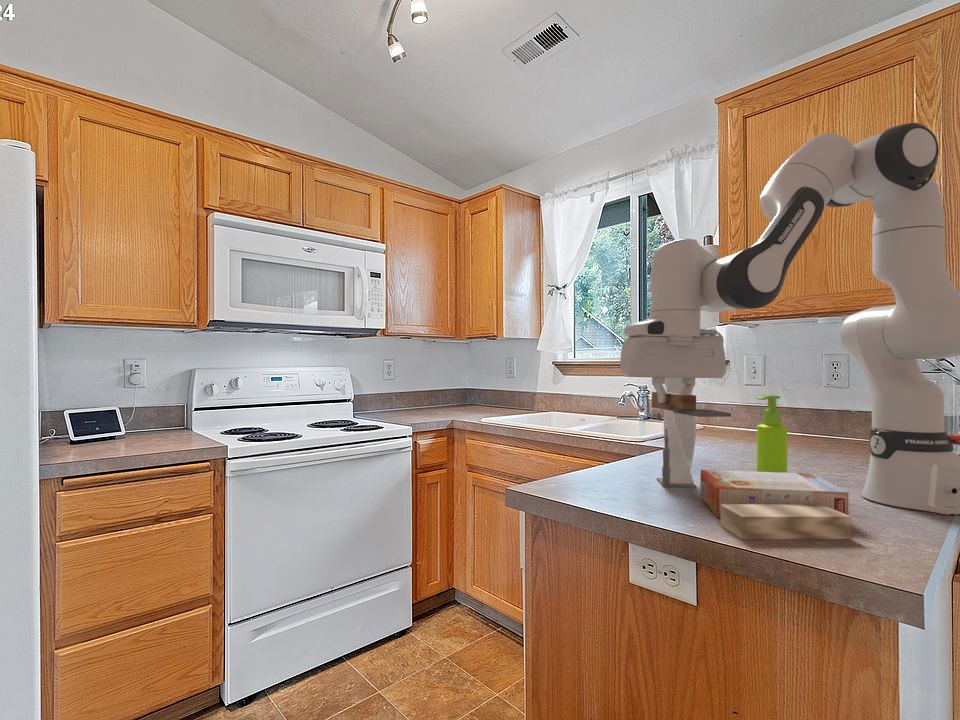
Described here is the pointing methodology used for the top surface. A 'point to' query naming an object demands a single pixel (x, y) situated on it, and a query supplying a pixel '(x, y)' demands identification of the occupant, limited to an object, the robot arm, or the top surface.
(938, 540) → the top surface
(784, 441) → the soap dispenser
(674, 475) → the skyscraper
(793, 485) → the cracker box
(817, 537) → the beech board
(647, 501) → the top surface
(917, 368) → the robot arm
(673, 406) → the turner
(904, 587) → the top surface
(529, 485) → the top surface
